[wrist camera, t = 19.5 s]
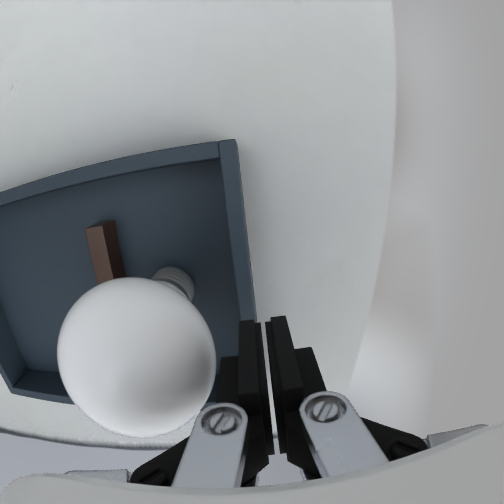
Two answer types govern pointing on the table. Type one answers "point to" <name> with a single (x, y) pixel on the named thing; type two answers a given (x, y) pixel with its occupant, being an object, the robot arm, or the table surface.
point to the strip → (105, 251)
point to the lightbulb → (138, 354)
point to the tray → (121, 250)
